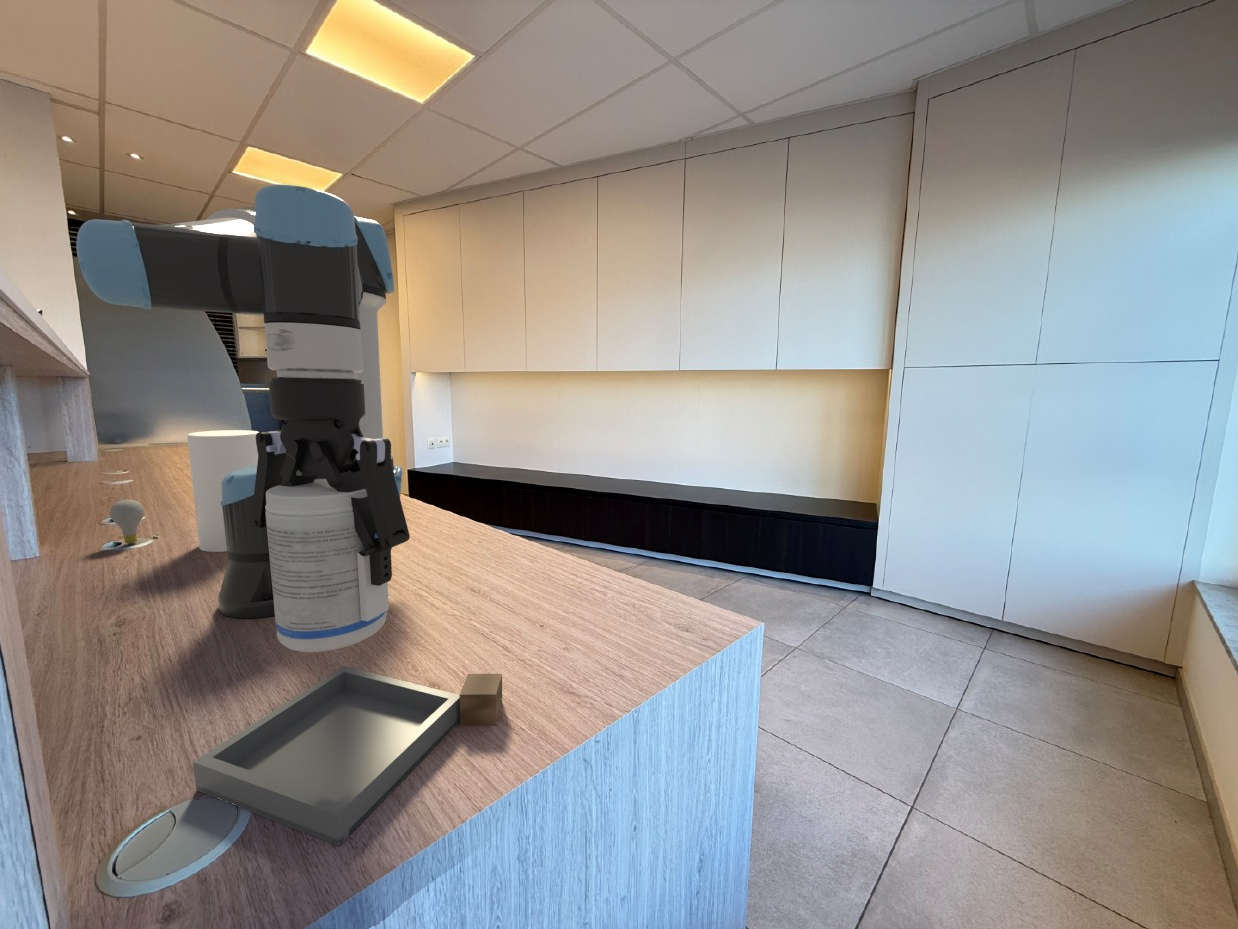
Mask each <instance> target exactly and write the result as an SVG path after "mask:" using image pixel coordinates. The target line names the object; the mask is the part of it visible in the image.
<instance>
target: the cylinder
mask: <svg viewBox="0 0 1238 929" xmlns="http://www.w3.org/2000/svg"><path fill="white" fill-rule="evenodd" d="M259 432H260V431H257V430H248V429H247V430H246V429H243V430H241V429H225V430H222V429H221V430H208V431H196V432H191V433H187V434H186V435H187V436H186V437H187V438H186V440H187V448H188V456H189V458H188V459H189V466H190V474H191V484H192V494H193V500H194V510H195V517H196V518H195V519H196V529H197V535H198V536H197V537H198V546H199V550H201V551H203V552H208V553H223V552H224V553H225V552H226V553H227V545H226V536H225V527H224V518H223V509H222V505H221V501H222V489H221V484H222V480H223V479H224V477H225V476H227V475H228V474H230V473H232V472H234V471H237V470H240V469H244V468H248V467H252V466H257V463H258V451H257V445H256V434H257V433H259Z"/></svg>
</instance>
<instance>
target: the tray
mask: <svg viewBox="0 0 1238 929" xmlns="http://www.w3.org/2000/svg"><path fill="white" fill-rule="evenodd" d="M458 724H460V694H457V693H453V692H450V691H446V690H441V689H437V688H433V687H429V686H425V685H422V684H418V683H414V682H410V681H405V680H401V679H397V678H395V677H389V676H386V675H383V674H382V675H381V674H378V673H375V672H370V671H365V670H363V669H358V668H354V667H350V666H345V665H343V666H342V667H340V668H339V669H337V670H335V671H334V672H332V673H330V674H329V675H327V676H326V677H324V678H323V679H321V680H320V681H318V682H317V683H314V685H311V686H310V687H308V688H307V689H305V690H304V691H301V693H299V694H298V695H296V696H294V697H293V698H291V699H289V700H288V701H286V702H285V703H283V704H282V705H280V706H278V707H277V708H276V709H275V708H274V710H272V711H271V712H269V713H268V714H266V715H265V716H263V717H261V718H260V719H258V720H256V721H255V722H253V723H252V724H250V725H249V726H247V727H245V728H244V729H242V730H241V731H239V732H238V733H236V734H235V735H233V736H231V737H230V738H228V739H227V740H225V741H223V742H222V743H221V744H219V745H217V746H216V747H214V748H212V749H211V750H210V751H208V752H207V753H205V754H202V755H201V756H200V757H198V758H197V759H195V760H193V761H192V765H193V773H194V781H195V782H194V784H195V789H196V791H197V792H199V793H202V794H205V795H207V796H209V797H212V798H214V797H217V798H220V799H222V800H224V801H227V802H229V803H233V804H236V805H237V806H240V807H242V808H244V809H243V810H245V809H246V810H245V811H247V810H248V812H250V813H253V814H256V815H258V816H260V817H263V818H266V819H268V820H271V821H274V822H276V823H279V824H281V825H284V826H286V827H288V828H291V829H294V830H297V831H299V832H302V833H304V834H307V835H309V836H312V837H315V838H317V839H320V840H323V841H324V842H327V843H330V844H333V845H335V846H337V847H340V846H342V844H343V843H344V842H346V840H347V839H348V838H349V837H350V836H352V834H353V833H354V832H355V831H357V829H358V828H359V827H360V826H361V825H362V824H363V823H364V821H366V820H367V818H368V817H369V816H370V815H372V813H373V812H374V811H375V810H376V809H377V808H378V807H379V806H380V805H381V804H382V803H383V802H384V801H385V800H386V799H387V798H388V797H389V796H390V794H392V793H393V792H394V790H396V788H398V787H399V785H400V784H401V783H402V782H404V780H406V778H407V777H408V776H409V775H410V774H411V773H412V772H413V771H414V770H415V769H416V768H417V767H418V766H419V765H420V764H421V763H422V762H423V761H424V759H425V758H427V756H428V755H429V754H430V753H431V752H432V751H433V750H435V748H436V747H437V746H439V744H440V743H441V742H442V741H443V740H444V739H445V738H446V737H447V736H448V734H449V735H450V733H451V732H452V731H453V729H455V728H456V726H458ZM217 798H216V799H217ZM222 800H221V801H222ZM224 801H223V802H224ZM227 802H226V803H227ZM229 803H228V804H229ZM237 806H236V807H237ZM240 807H239V808H240ZM242 808H241V809H242Z"/></svg>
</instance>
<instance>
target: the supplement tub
mask: <svg viewBox="0 0 1238 929" xmlns="http://www.w3.org/2000/svg"><path fill="white" fill-rule="evenodd" d="M351 497H354V498H364V497H367V493H366V489H362V490H358V491H354V492H350V493H347V492H337V490H336V489H335V488H332V487H331V486H329V484H328V482H327V480H326V479H317V480H314V482H313V483H308V484H302V485H297V486H292V487H289V486H281V485H279V486H275V487H273V488H270V489H269V490H267V492H266V506H265V509H266V524H267V534H268V545H269V556H270V567H271V578H272V588H273V598H274V610H275V615H274V618H275V619H274V620H275V621H274V622H275V629H276V637H277V640H278V641H279V642H280V643H281V645H283V646H284V647H285V648H287V649H289V650H292V651H296V652H302V653H318V652H319V653H320V652H328V651H333V650H339V649H342V648H345V647H349V646H352V645H355V644H358V643H360V642H362V641H364V640H366V639H368V638H370V637H371V636H373V635H375V634H376V633H377V632H379V631H380V630H381V628H382V627H383V626H384V624H385V622H386V619H387V612H388V610H387V611H385V612H384V613H382V614H380V615H378V616H376V617H375V618H373V619H371V620H369V621H363V620H361V611H360V594H359V577H358V560H357V553H359V552H360V551H362V550H364V547H363V545H362V543H361V540H360V538H359V536H358V534H357V532H356V530H355V525H354V514H353V508H352V505H351ZM374 536H375V538H377V537H378V536H377V534H375V535H374Z"/></svg>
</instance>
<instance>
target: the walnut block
mask: <svg viewBox="0 0 1238 929" xmlns="http://www.w3.org/2000/svg"><path fill="white" fill-rule="evenodd" d="M459 695H460V722H459V726H460V727H496V726H497V724H498V721H499V717H500V714H501V709H502V707H503V673H468V674H467V676H466V677H465V680H464V683H463V685H462V687H461V691H460V693H459Z"/></svg>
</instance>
